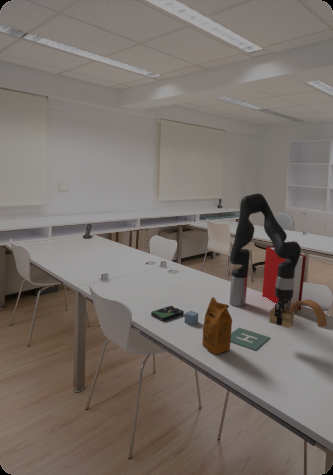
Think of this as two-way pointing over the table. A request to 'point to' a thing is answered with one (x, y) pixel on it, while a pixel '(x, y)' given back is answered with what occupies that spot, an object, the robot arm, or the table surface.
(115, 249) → the table surface
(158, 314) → the disk drive
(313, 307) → the arch
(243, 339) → the letter board
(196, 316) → the blue cube
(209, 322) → the coffee package
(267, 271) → the book
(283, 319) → the block
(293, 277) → the robot arm
